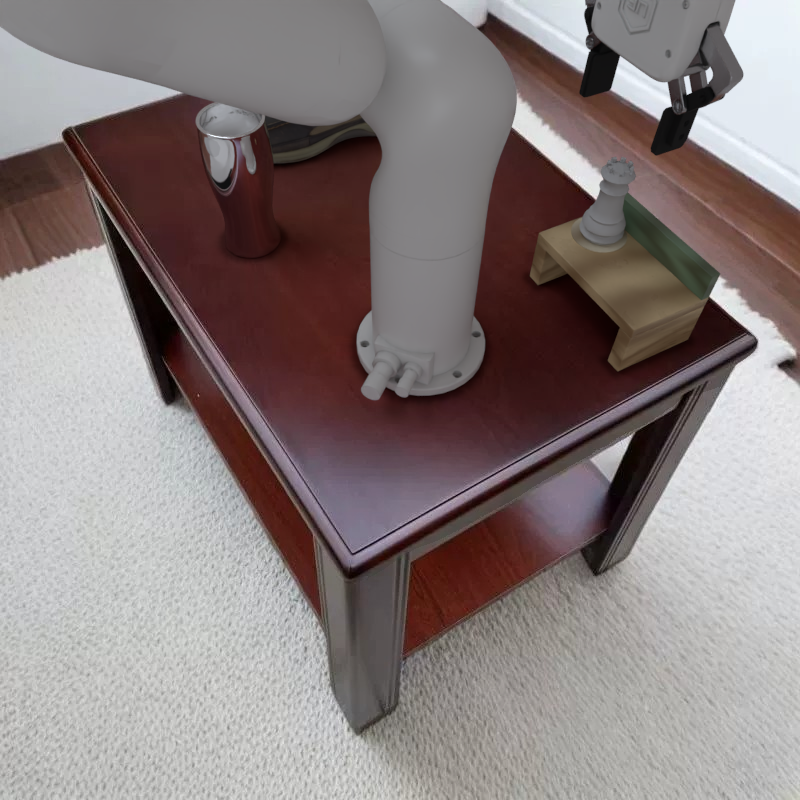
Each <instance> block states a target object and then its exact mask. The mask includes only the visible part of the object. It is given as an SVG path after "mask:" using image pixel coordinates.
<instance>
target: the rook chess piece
mask: <svg viewBox="0 0 800 800" xmlns="http://www.w3.org/2000/svg"><path fill="white" fill-rule="evenodd" d="M634 164H635V163H634V162H633V160H629V161H628V162H627V157H624V156H621V158H620V160H618V157H617V156H613V157H611V158H610V159H608V160H607V162H606V164H605V165H603V166H602V167H601V168H600V175H601V178H602V180H601V181H600V182H599V184H598V186H599V192H598V195H597V197H596V199H595V201H594V203H593V204H592V205H590V206H589V208H588V209H586V211H584V213H583V215H582V216H581V217H582V221H581V223H580V225H579V226H580V231H581V233H582V235H583V236H584V237H585V238H586V239H587V240H588V241H590V242H592V243H594V244H598V245H609V244H613V243H615V242H617V241H618V240H620V239H621V238H622V237H623V234H624V228H625V226H626V221H625V217H624V213H623V203H624V197H625V194H627V193H629V191H630V187H629V184H631V183H633V182H634V181H635V179H636V178H637V175H636V171H635V166H634Z"/></svg>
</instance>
